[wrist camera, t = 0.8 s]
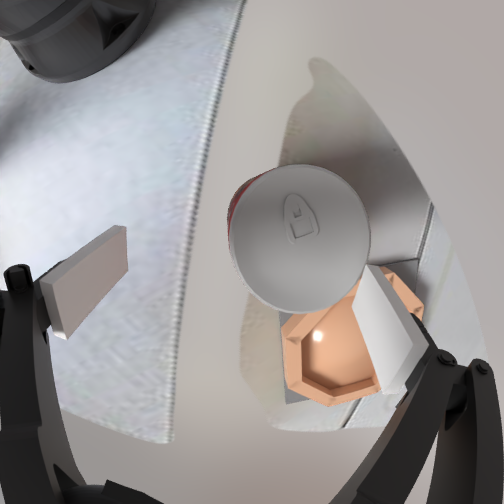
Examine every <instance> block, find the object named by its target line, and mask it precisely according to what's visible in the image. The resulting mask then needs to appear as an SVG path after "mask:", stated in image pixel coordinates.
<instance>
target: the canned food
mask: <svg viewBox="0 0 504 504" xmlns="http://www.w3.org/2000/svg"><path fill="white" fill-rule="evenodd" d="M227 225H228V241H229V249H230V254H231V258H232V261H233V265H234V268H235V269H236V271H237V273H238V275H239V277H240V279H241V281H242V282H243V284H244V285H245V286H246V288H247V289H248V290H249V291H250V293H251V294H252V295H253V296H255V297H256V298H257V299H258V300H260V301H261V302H262V303H264V304H265V305H267V306H269V307H271V308H273V309H275V310H279V311H282V312H285V313H293V314H306V313H314V312H317V311H320V310H323V309H326V308H328V307H330V306H332V305H334V304H336V303H337V302H339V301H340V300H341V299H342V298H344V297H345V296H346V295H347V294H348V293H349V292H350V291H351V290H352V289H353V287H354V286H355V285H356V284H357V282H358V281H359V279H360V277H361V275H362V274H363V272H364V269H365V266H366V264H367V261H368V258H369V253H370V247H371V229H370V223H369V218H368V215H367V212H366V209H365V207H364V204H363V203H362V201H361V199H360V198H359V196H358V194H357V193H356V191H355V190H354V189H353V188H352V187H351V186H350V185H349V184H348V182H346V181H345V180H344V179H342V178H341V177H340V176H338V175H337V174H335V173H333V172H331V171H329V170H327V169H325V168H322V167H318V166H313V165H307V164H290V165H286V166H281V167H277V168H274V169H272V170H269V171H267V172H265V173H263V174H260V175H258V176H256V177H254V178H252V179H250V180H248V181H247V182H245V183H244V184H243V185H242V186H241V187H240V188H239V189H238V190H237V191H236V192H235V194H234V196H233V198H232V200H231V202H230V205H229V208H228V216H227Z"/></svg>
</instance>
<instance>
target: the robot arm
mask: <svg viewBox="0 0 504 504" xmlns="http://www.w3.org/2000/svg"><path fill="white" fill-rule="evenodd" d="M155 2H156V0H0V37H2V38H4V39H6V40H8V41H9V42H10V44H11V46H12V47H13V49H14V51H15V52H16V54H17V55H18V57H19V58H20V60H21V61H22V63H23V65H24V66H25V68H26V69H27V70H28V71H29V72H30V73H32V74H33V75H35V76H37V77H39V78H41V79H43V80H46V81H48V82H52V83H67V82H72V81H76V80H79V79H82V78H85V77H87V76H89V75H91V74H93V73H95V72H97V71H99V70H101V69H102V68H104V67H106V66H107V65H109V64H110V63H111V62H113V61H114V60H115V59H117V58H118V57H119V56H120V55H122V54H123V53H124V52H125V51H126V50H127V49H128V48H129V47H130V46H131V45H132V44H133V43H134V42H135V41H136V40H137V38H138V37H139V36H140V35H141V33H142V32H143V31H144V29H145V28H146V26H147V24H148V23H149V21H150V19H151V17H152V14H153V11H154V8H155ZM127 271H128V262H127V239H126V227H124V226H118V225H114V226H113V227H111V228H110V229H108V230H107V231H105V232H104V233H102V234H101V235H99V236H98V237H97V238H95V239H94V240H92V241H91V242H89V243H88V244H87V245H85V246H84V247H82V248H81V249H80V250H78V251H77V252H76V253H74V254H73V255H71V256H70V257H69V258H67V259H65V260H63V261H60V262H58V263H57V264H56V265H54V266H53V268H51V269H49V270H48V272H45V273H44V274H43V275H42V276H40V277H39V278H38V279H36V280H35V281H34V282H33V280H32V276H31V272H30V267H29V266H28V265H25V264H18V265H14V266H11V267H9V268H8V269H7V270H6V271H5V272H4V278H5V282H6V286H7V289H8V291H3V290H0V416H1V431H0V484H1V488H2V492H3V496H4V500H5V504H164V503H162V502H160V501H158V500H156V499H154V498H152V497H150V496H148V495H146V494H145V493H143V492H140V491H137V490H134V489H131V488H128V487H125V486H122V485H120V484H117V483H115V482H112V481H109V480H106V483H105V486H104V485H87V484H86V482H85V480H84V478H83V477H82V475H81V474H80V472H79V470H78V468H77V466H76V464H75V461H74V458H73V455H72V452H71V449H70V445H69V442H68V439H67V435H66V432H65V428H64V424H63V420H62V416H61V412H60V407H59V403H58V398H57V393H56V388H55V382H54V376H53V370H52V363H51V355H50V346H49V336H48V333H47V330H46V329H47V328H48V327H49V326H50V325H51V326H52V329H53V332H54V335H55V336H58V337H60V338H63V339H65V340H68V338H69V337H70V336H71V335H72V334H73V332H74V331H75V330H76V329H77V328H78V326H79V325H80V324H81V323H82V322H83V320H84V319H85V318H86V317H87V316H88V315H89V313H90V312H91V311H92V310H93V309H94V308H95V307H96V305H97V304H98V303H99V302H100V301H101V300H102V299H103V298H104V296H105V295H106V294H107V293H108V292H109V291H110V290H111V289H112V288H113V286H114V285H115V284H116V283H117V282H118V281H119V280H120V279H121V278H122V277H123V276H124V275H125V273H126V272H127ZM351 307H352V309H353V312H354V314H355V317H356V319H357V322H358V325H359V327H360V330H361V332H362V335H363V338H364V341H365V343H366V346H367V349H368V352H369V354H370V357H371V360H372V363H373V366H374V369H375V372H376V375H377V378H378V381H379V384H380V387H381V390H382V393H383V394H398V393H399V392H400V390H401V389H402V387H403V386H404V384H405V385H406V388H407V390H408V391H407V392H406V393H405V395H404V396H403V398H402V399H401V400H400V402H399V403H398V404H397V406H396V408H397V409H396V411H395V412H394V414H393V416H392V418H391V419H390V421H389V423H388V424H387V426H386V427H385V429H384V431H383V432H382V434H381V435H380V437H379V438H378V440H377V442H376V443H375V445H374V446H373V448H372V449H371V450H370V452H369V453H368V455H367V456H366V458H365V459H364V460H363V462H362V463H361V465H360V466H359V467H358V469H357V470H356V472H355V473H354V474H353V475H352V476H351V478H350V479H349V480H348V482H347V483H346V484H345V485H344V486H343V488H342V489H341V490H340V491H339V493H338V494H337V495H336V496H335V497H334V499H333V500H332V501H331V502H330V503H329V504H404V502H405V500H406V499H407V497H408V495H409V493H410V492H411V490H412V488H413V486H414V484H415V482H416V480H417V478H418V476H419V474H420V472H421V470H422V468H423V466H424V464H425V461H426V459H427V457H428V455H429V452H430V450H431V448H432V445H433V443H434V440H435V437H436V435H437V432H438V440H437V448H436V456H435V463H434V469H433V474H432V480H431V485H430V489H429V494H428V498H427V503H426V504H502V500H503V483H504V482H503V481H504V456H503V455H504V454H503V436H502V425H501V416H500V408H499V402H498V395H497V390H496V384H495V379H494V374H493V371H492V368H491V367H490V366H489V364H488V363H486V361H483V360H481V359H473V360H472V362H471V363H470V365H469V366H468V367H466V366H461V365H457V361H456V359H455V357H454V356H453V355H452V354H450V353H449V352H447V351H445V350H442V349H438V348H437V346H436V344H435V343H434V341H433V339H432V338H431V336H430V335H429V333H427V332H428V331H427V330H426V328H425V327H424V325H423V324H422V322H421V320H420V319H419V318H418V317H417V316H415V315H414V314H413V313H409V311H408V310H407V308H406V306H405V305H404V303H403V302H402V300H401V299H400V297H399V296H398V294H397V293H396V291H395V290H394V288H393V287H392V285H391V284H390V282H389V281H388V279H387V278H386V277H385V275H384V274H383V272H382V271H381V269H380V268H379V267H378V266H375V265H369V264H366V266H365V269H364V272H363V275H362V278H361V281H360V284H359V287H358V290H357V293H356V295H355V298H354V301H353V304H352V306H351Z"/></svg>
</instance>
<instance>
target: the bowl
mask: <svg viewBox="0 0 504 504" xmlns="http://www.w3.org/2000/svg"><path fill="white" fill-rule="evenodd" d="M379 268H380V269H381V271H382V272H383V274H384V275H385V277H386V278H387V279H388V281H389V282H390V284H391V285H392V287H393V288H394V290H395V291H396V293H397V294H398V296H399V297H400V299H401V300H402V302H403V303H404V305H405V306H406V308H407V310H408V311H409V313H413V314H414V315H415V316H417V317H418V318H419V319H420V320H421V321H422V315H423V309H424V305H423V303H422V302H421V301H420V300H419V299H418V298H417V297H416V296H415V294H414V293H413V292H412V291H411V290H410V289H409V288H408V287H407V286H406V285H405V284H404V283H403V281H402V280H401V279H400V278H399V277H398V276H397V275H396V274H395V273H394V272H392V271H391V270H389V269H388V268H386V267H379ZM362 275H363V274H362ZM362 275H361V277H360V279H359V281H358V282H357V284H356V285H355V286H354V287H353V289H352V290H351V291H350V292H349V293H348V294H347V295H346V296H345V297H344V298H342V299H341V300H340V301H339V302H337V303H336V304H334V305H332V306H330V307H328V308H326V309H323V310H320V311H317V312H314V313H306V314H293V315H292V316H291V317H290V318H289V319H288V321H287V322H286V323H285V324H284V325H283V326H282V327H281V334H282V347H283V361H284V375H285V380H286V383H287V386H288V389H290V390H293V391H295V392H297V393H299V394H301V395H303V396H305V397H307V398H310V399H312V400H314V401H316V402H318V403H321V404H323V405H325V406H328V407H329V406H333V405H337V404H341V403H344V402H348V401H351V400H355V399H358V398H361V397H364V396H368V395H371V394H374V393H377V392H378V391H380V390H381V387H380V384H379V381H378V378H377V375H376V372H375V369H374V366H373V363H372V360H371V357H370V354H369V352H368V349H367V346H366V343H365V341H364V338H363V335H362V332H361V330H360V327H359V325H358V322H357V319H356V317H355V314H354V312H353V309H352V307H351V306H352V304H353V301H354V298H355V295H356V293H357V290H358V287H359V284H360V281H361V278H362Z"/></svg>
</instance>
